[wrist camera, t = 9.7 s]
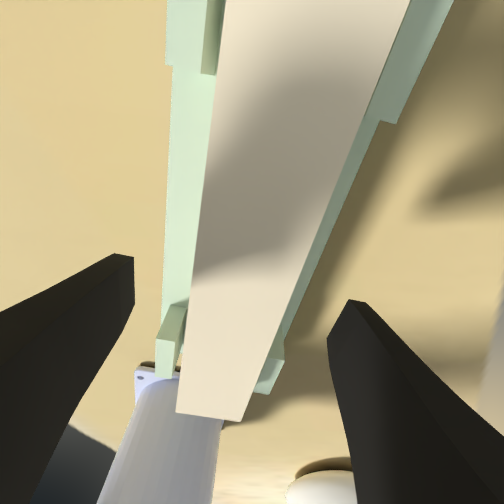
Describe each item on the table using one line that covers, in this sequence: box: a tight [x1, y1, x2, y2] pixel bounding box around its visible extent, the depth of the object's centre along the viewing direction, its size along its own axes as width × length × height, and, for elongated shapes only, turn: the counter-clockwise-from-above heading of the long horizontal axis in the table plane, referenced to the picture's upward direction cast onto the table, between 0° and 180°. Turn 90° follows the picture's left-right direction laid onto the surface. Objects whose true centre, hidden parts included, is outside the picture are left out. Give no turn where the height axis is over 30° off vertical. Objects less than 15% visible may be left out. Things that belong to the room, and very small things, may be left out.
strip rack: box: [155, 0, 454, 395], centre depth 12 cm, size 21×8×4 cm, turn 168°
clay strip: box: [175, 0, 410, 422], centre depth 11 cm, size 18×4×4 cm, turn 168°
